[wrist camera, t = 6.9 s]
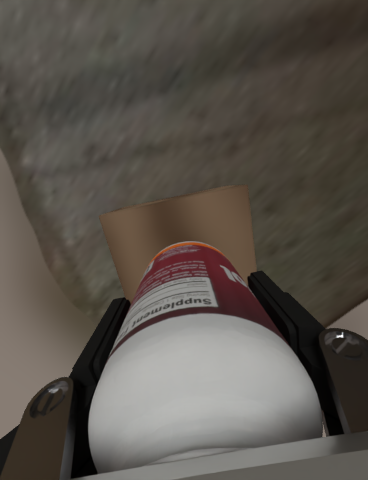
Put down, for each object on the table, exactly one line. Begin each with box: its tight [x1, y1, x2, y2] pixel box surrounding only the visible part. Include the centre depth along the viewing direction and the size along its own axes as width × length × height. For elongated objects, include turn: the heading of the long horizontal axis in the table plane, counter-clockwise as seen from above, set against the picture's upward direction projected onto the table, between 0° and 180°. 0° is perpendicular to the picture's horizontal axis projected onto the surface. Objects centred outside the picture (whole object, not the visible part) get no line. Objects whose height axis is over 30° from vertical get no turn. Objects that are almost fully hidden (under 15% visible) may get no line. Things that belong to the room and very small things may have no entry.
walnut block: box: [99, 185, 257, 303], centre depth 18 cm, size 11×11×6 cm
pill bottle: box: [88, 241, 323, 474], centre depth 7 cm, size 6×6×11 cm
